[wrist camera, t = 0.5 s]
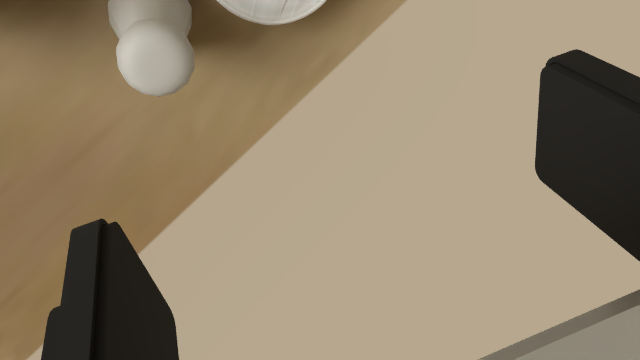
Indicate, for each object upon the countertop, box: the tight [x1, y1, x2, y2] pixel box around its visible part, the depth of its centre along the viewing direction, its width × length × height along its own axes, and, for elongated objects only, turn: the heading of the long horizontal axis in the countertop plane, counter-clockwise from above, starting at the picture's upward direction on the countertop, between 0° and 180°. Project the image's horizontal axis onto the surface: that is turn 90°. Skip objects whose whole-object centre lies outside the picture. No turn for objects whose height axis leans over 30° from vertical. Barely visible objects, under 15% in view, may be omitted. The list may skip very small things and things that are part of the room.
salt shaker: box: [107, 0, 194, 97], centre depth 33 cm, size 6×6×13 cm
